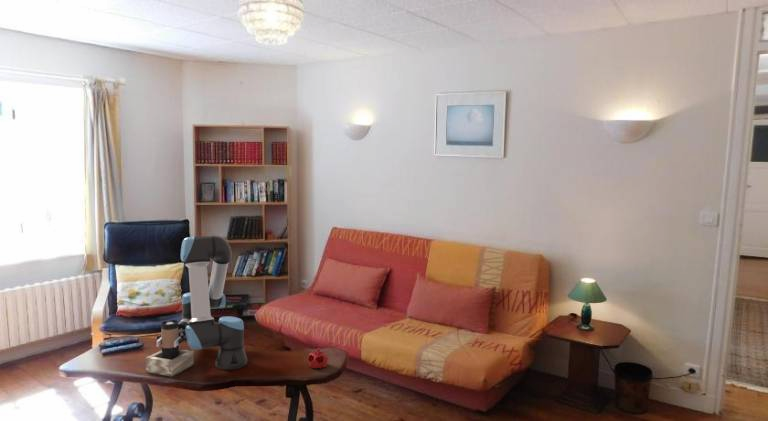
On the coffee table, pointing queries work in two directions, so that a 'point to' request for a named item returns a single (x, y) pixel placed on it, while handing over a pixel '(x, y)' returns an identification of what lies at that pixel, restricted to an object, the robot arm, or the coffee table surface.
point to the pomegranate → (317, 359)
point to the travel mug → (169, 339)
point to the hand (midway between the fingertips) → (166, 344)
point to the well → (169, 363)
